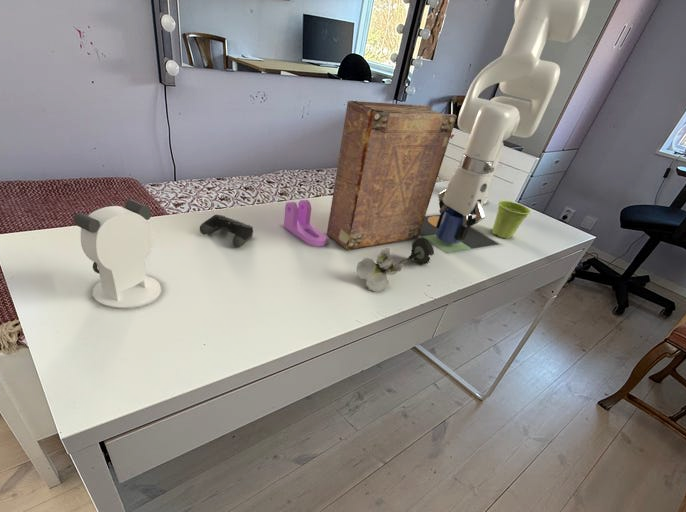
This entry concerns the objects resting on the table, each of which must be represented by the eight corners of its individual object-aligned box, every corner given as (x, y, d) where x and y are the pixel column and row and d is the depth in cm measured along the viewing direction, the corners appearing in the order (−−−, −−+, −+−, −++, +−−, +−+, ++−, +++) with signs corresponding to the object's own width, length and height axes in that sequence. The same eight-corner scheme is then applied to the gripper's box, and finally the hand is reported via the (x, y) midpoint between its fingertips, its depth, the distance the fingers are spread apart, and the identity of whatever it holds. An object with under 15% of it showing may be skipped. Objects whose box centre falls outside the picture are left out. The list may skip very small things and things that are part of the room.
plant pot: (512, 231, 125) (525, 204, 119) (520, 243, 118) (535, 215, 112) (483, 226, 124) (495, 198, 119) (490, 238, 117) (503, 209, 112)
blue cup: (430, 234, 110) (439, 209, 105) (448, 231, 113) (457, 207, 108) (447, 245, 106) (457, 219, 101) (465, 242, 109) (475, 217, 104)
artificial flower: (433, 275, 97) (453, 244, 88) (366, 306, 87) (382, 275, 78) (410, 251, 100) (427, 219, 91) (342, 278, 89) (355, 245, 81)
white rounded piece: (134, 267, 78) (119, 190, 68) (176, 288, 74) (168, 210, 65) (78, 291, 69) (52, 207, 60) (123, 316, 66) (104, 231, 56)
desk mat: (396, 219, 118) (396, 219, 118) (447, 214, 128) (447, 214, 128) (446, 252, 105) (446, 252, 105) (499, 244, 115) (499, 244, 115)
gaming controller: (196, 233, 92) (198, 211, 90) (216, 230, 98) (219, 210, 96) (238, 249, 89) (241, 227, 86) (256, 246, 95) (259, 225, 93)
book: (396, 224, 115) (429, 105, 95) (418, 238, 109) (458, 115, 90) (326, 235, 102) (347, 100, 83) (346, 250, 97) (374, 110, 77)
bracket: (283, 226, 103) (285, 199, 98) (300, 223, 106) (303, 197, 101) (313, 247, 96) (317, 220, 91) (330, 244, 99) (335, 216, 94)
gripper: (512, 176, 93) (482, 246, 105) (461, 154, 104) (438, 219, 115) (492, 177, 90) (462, 249, 101) (440, 154, 100) (419, 221, 112)
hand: (450, 233), depth 108 cm, fingers closed on blue cup, 7 cm apart
